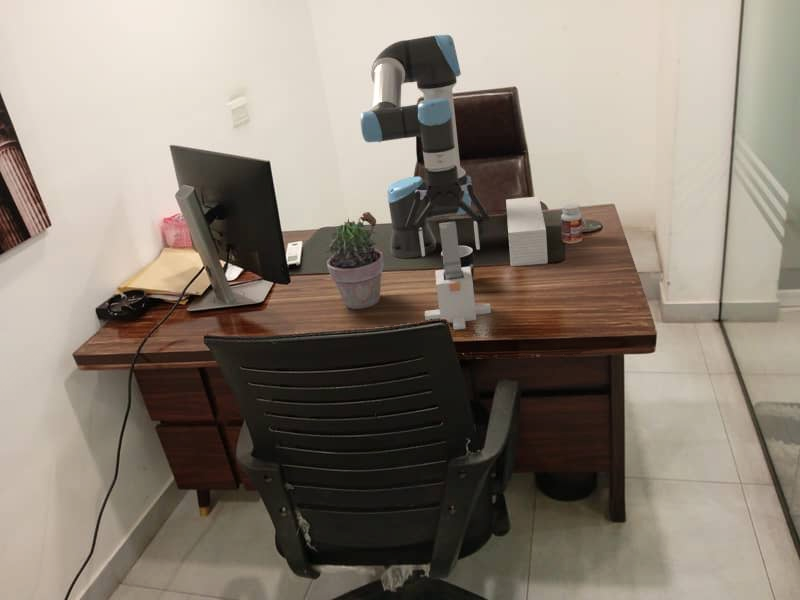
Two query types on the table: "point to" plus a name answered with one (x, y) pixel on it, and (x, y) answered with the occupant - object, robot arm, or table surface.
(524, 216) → the stack of papers
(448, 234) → the post
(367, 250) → the potted plant
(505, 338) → the table surface
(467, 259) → the mug
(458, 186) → the robot arm
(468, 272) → the housing
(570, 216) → the pill bottle
